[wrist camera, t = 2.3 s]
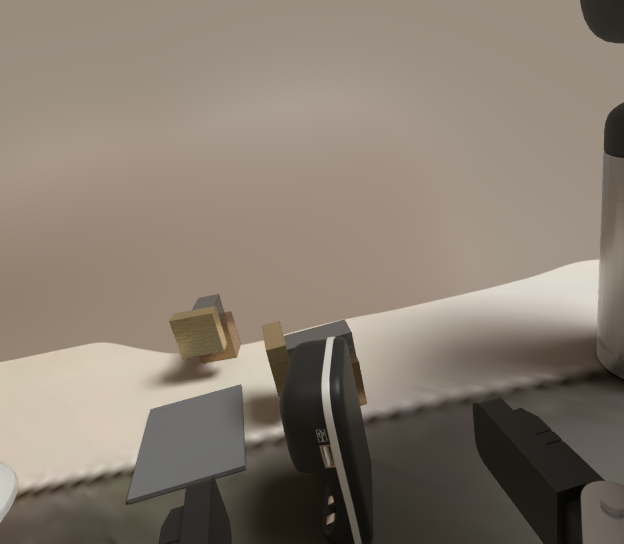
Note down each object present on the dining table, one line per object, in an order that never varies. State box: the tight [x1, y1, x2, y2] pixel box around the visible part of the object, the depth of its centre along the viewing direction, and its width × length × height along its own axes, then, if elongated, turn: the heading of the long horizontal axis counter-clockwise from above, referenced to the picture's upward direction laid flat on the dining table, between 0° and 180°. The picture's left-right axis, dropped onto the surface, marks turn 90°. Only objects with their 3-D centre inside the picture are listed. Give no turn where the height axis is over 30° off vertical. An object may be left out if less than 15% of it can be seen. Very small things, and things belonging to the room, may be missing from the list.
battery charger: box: [280, 337, 373, 544], centre depth 28 cm, size 7×4×11 cm, turn 174°
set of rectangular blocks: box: [169, 294, 367, 405], centre depth 43 cm, size 8×23×8 cm, turn 50°
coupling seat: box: [127, 385, 246, 504], centre depth 39 cm, size 9×11×1 cm
